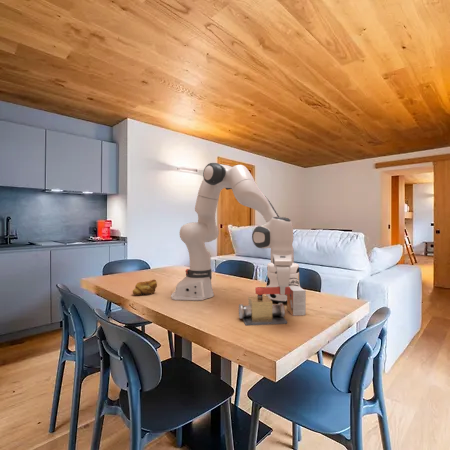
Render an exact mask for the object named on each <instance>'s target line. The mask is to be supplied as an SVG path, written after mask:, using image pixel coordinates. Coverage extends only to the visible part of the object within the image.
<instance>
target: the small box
mask: <svg viewBox="0 0 450 450" xmlns="http://www.w3.org/2000/svg"><path fill="white" fill-rule="evenodd" d="M289 287H290V294H287V303H286V309H287V311H288V312H289V313H290V315H292V316H306V315H307V314H306V313H307V310H306V307H307V306H306V305H307V304H306V303H307V302H306V297H307V293H306V291H307V290H306V289H303V288H302V287H301V286H300V287H299V286H289Z"/></svg>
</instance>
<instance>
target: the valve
mask: <svg viewBox="0 0 450 450" xmlns="http://www.w3.org/2000/svg"><path fill="white" fill-rule="evenodd" d="M285 312H286V310H285V305H284V303H281V302H277V304H273V301H272V300H271V299H270V298H269V297H268V296H266V295H258V294H256V296H255V295H253V296H248V305H244V304H243V303H241V304H238V317H239V319H240V320H242V321H243V323H244V325H245V326H261V325H262V326H265V325H284V324H285V325H286V324H287V323H288V320H287V319H286V318H285V316H286V313H285Z"/></svg>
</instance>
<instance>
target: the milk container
mask: <svg viewBox="0 0 450 450" xmlns="http://www.w3.org/2000/svg"><path fill="white" fill-rule="evenodd" d="M266 268H267V271H266V277H267V278H266V279H267V280H266V284H265V287H278V286H279V285H278V279H277V272H276V267H274V264H273V263H271V262H268V263H267V266H266ZM289 286H299V287H301V284H300V265H299V264H298V263H296V262H294V263H292V266H290V280H289ZM265 296H268V297H269V298H270V299H271V301H272V302H277V303H283V304H284V303H285V304H287V294H282V295H279V294H265Z"/></svg>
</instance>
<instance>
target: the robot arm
mask: <svg viewBox="0 0 450 450" xmlns="http://www.w3.org/2000/svg"><path fill="white" fill-rule="evenodd" d="M202 177H203V178H202V181H201V183H200V186H199V189H198V193H197V197H196V200H195V201H196V202H195V207H194V211H195V212H196V214H197V222H196V221H195V222H188V223H186V224H183V225H181V227H180V229H179V239H180V240H181V241H182V242H183V243H184V244H185V246H186V248H187V251H188V255H189V268H186V269H185V270H184V271H185V277H184V278H183V279H181V280H180V281H179V282H178V283H177V284H176V286H175V289H174V291H173V292H172V293H171V295H170V298H171V299H172V300H173V301H175V300H176V301H204V300H206V299H210V298H212V297H214V296H215V294H214V291H213V285H212V277H213V275H212V273H213V272H212V266H211V265H212V264H211V261H212V260H211V253H210V251H208V249H207V248H206V245H205V244H206V243H210V242H212V241H214V240H216V239H217V238H218V236H219V231H220V230H219V227H218V226H217V222H216V213H217V207H218V203H219V199H220V194H221V192H222V190H223V189H225V190H232V194H233V196H234V198H235V200H236V201H237V202H238V203H239V204H240V205H242V206H244V207H248V208H250V209H253V210H255V211H257V212H258V213H260V214H261V215H262V217H263V218H264V220H265V222H266V223H264V224H262V225H258V226H256V227H254V228H253V231H252V234H251V239H252V243H253V245H254V246H255V247H256V248H259V249H270V263H273V264H274V267H276V272H277V279H278V285H279V287H280V294H285V287H288V286H289V280H290V266H292V263H295V261H294V260H295V259H294V258H295V257H294V256H295V254H294V253H295V252H294V247H293V243H294V227H293V222H292V220H291V219H290V218H288V217H286V216H285V217H284V216H280V215H279V213H278V212H277V211H276V209H275V207H274V206H273V204H272V203H271V202H270V200H269V199H268V198H267V197H266V195H264V193H263V192H262V190H261V189H260V188H259V186H258V185H257V183H256V181H255V179H254V177H253V175H252V173H251V172H250V171H249V169H248V168H247V166H245V165H243V164H237V165H233V166H231V165H228V164H223V163H222V164H221V163H218V162H210V163H208V164H206V165H205V167H204V169H203V172H202Z"/></svg>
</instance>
